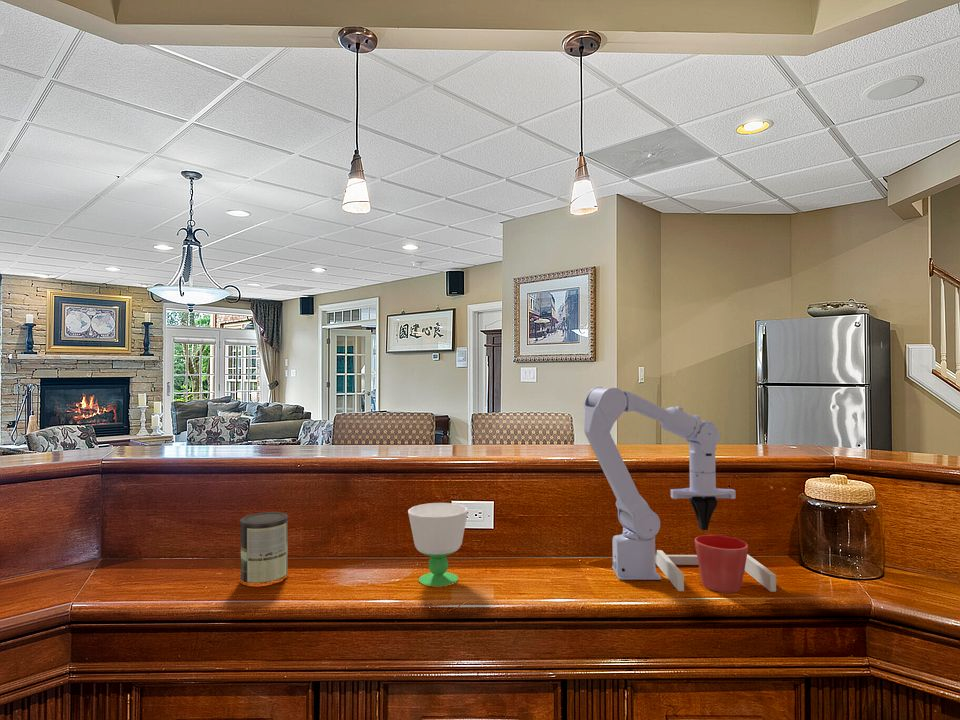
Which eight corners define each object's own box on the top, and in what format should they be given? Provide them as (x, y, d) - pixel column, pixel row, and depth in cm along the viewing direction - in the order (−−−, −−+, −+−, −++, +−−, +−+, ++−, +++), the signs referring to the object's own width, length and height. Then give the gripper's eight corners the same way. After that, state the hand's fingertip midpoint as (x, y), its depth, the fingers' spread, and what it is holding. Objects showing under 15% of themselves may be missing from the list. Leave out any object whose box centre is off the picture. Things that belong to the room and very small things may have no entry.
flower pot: (738, 577, 128) (737, 534, 128) (756, 597, 117) (755, 549, 117) (689, 576, 129) (688, 533, 129) (703, 595, 118) (702, 548, 118)
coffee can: (229, 583, 127) (229, 520, 127) (265, 568, 136) (265, 510, 137) (263, 590, 123) (263, 525, 123) (297, 575, 132) (297, 514, 132)
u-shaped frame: (678, 591, 120) (678, 574, 120) (655, 563, 138) (655, 548, 138) (776, 591, 119) (775, 574, 120) (740, 563, 137) (740, 548, 137)
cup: (403, 573, 133) (402, 505, 133) (459, 566, 137) (458, 500, 137) (414, 595, 120) (414, 519, 120) (476, 586, 124) (475, 514, 124)
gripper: (726, 468, 138) (727, 524, 137) (666, 468, 138) (667, 524, 138) (738, 473, 131) (740, 532, 130) (675, 473, 131) (676, 532, 131)
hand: (703, 529), depth 134 cm, fingers closed
